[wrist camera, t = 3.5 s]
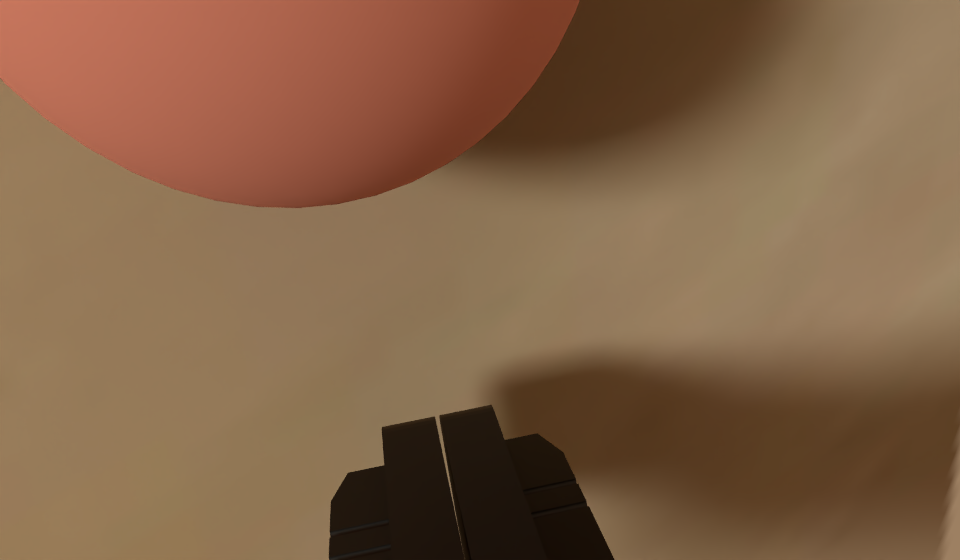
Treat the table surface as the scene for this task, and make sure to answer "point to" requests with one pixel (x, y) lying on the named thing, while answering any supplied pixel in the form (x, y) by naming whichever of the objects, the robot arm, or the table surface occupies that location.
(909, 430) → the table surface
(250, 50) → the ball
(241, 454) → the table surface
